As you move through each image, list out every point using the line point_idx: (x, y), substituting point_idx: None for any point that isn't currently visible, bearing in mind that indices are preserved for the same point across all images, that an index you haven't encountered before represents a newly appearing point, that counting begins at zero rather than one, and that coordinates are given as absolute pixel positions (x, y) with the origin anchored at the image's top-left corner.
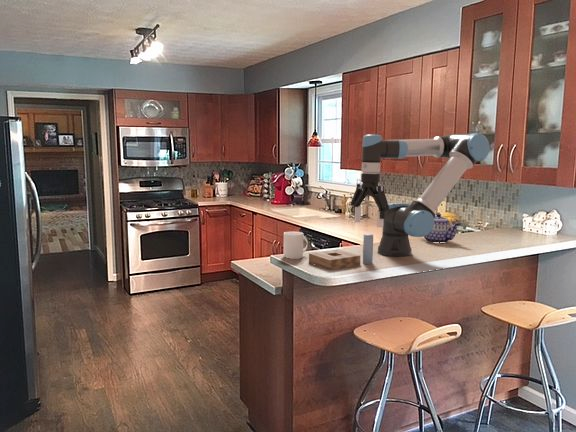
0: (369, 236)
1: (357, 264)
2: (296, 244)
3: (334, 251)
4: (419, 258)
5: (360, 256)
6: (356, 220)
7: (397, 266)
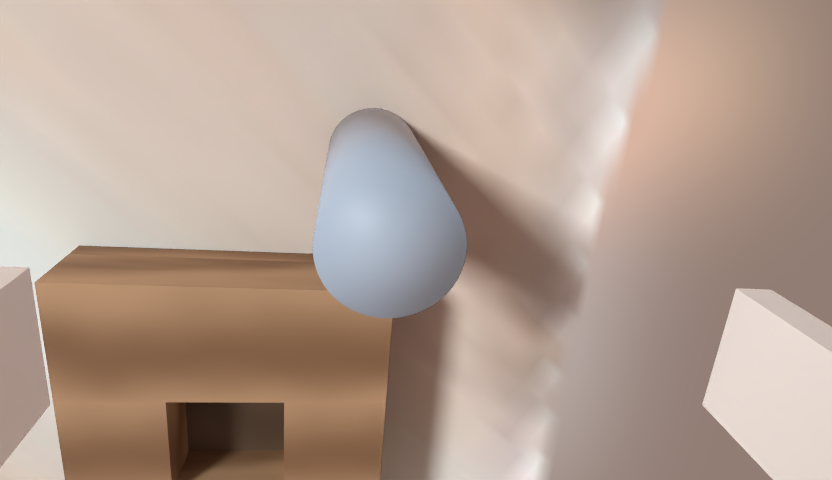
0: (449, 282)
1: None
2: None
3: (116, 381)
4: None
5: None
6: (21, 410)
7: (626, 20)
